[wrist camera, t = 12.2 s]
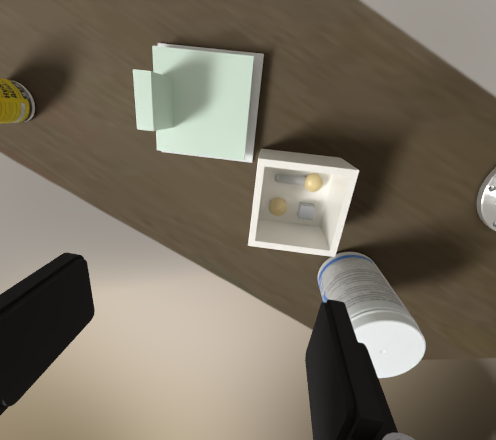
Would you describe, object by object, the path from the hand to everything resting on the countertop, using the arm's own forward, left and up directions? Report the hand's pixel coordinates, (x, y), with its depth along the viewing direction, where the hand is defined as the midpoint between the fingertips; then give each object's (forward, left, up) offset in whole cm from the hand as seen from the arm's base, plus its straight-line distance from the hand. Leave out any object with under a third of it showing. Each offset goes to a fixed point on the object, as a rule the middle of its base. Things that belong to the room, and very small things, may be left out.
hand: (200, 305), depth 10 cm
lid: (+7, -7, -27) cm, 29 cm away
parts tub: (-7, +3, -29) cm, 29 cm away
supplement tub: (-18, +16, -29) cm, 37 cm away
